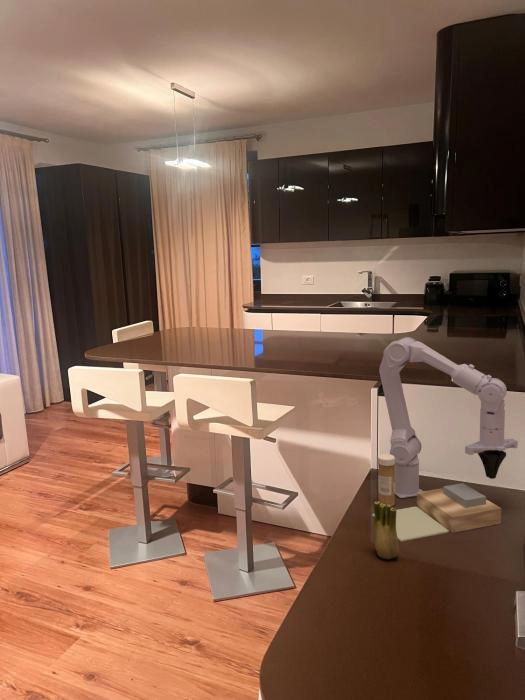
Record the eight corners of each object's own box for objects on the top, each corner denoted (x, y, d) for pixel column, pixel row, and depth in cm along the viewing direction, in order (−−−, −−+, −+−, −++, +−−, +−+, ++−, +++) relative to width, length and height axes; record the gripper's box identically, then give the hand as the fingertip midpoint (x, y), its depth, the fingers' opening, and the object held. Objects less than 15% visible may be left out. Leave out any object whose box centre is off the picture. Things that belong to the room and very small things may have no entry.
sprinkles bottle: (398, 503, 137) (398, 455, 135) (389, 508, 134) (389, 460, 132) (383, 498, 141) (383, 452, 139) (374, 503, 138) (374, 456, 136)
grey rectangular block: (443, 493, 133) (443, 486, 133) (462, 490, 135) (462, 483, 134) (465, 508, 124) (465, 500, 124) (486, 504, 126) (486, 496, 126)
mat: (372, 515, 131) (372, 514, 131) (416, 507, 134) (416, 506, 134) (400, 541, 117) (400, 540, 117) (448, 532, 121) (449, 530, 121)
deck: (416, 506, 135) (416, 492, 134) (461, 498, 139) (461, 485, 138) (452, 533, 121) (452, 517, 120) (500, 523, 124) (501, 508, 124)
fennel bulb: (371, 550, 114) (370, 500, 113) (391, 547, 115) (391, 497, 114) (381, 564, 109) (381, 511, 107) (402, 561, 110) (402, 508, 108)
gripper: (478, 434, 123) (477, 487, 125) (527, 427, 127) (525, 478, 129) (460, 426, 130) (459, 476, 132) (506, 420, 134) (505, 469, 136)
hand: (490, 477), depth 131 cm, fingers closed
